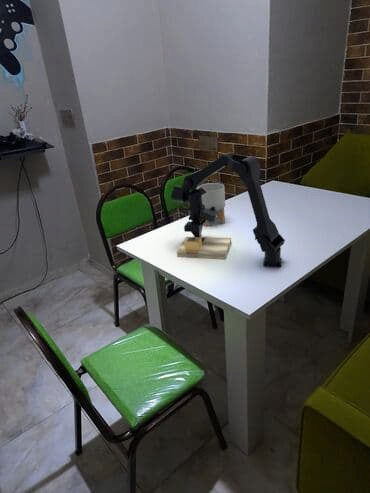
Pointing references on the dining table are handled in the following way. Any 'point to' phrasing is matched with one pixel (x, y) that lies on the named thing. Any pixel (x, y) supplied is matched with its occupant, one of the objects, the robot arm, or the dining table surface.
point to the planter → (214, 199)
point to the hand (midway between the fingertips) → (198, 238)
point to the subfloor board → (208, 248)
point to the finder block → (193, 243)
